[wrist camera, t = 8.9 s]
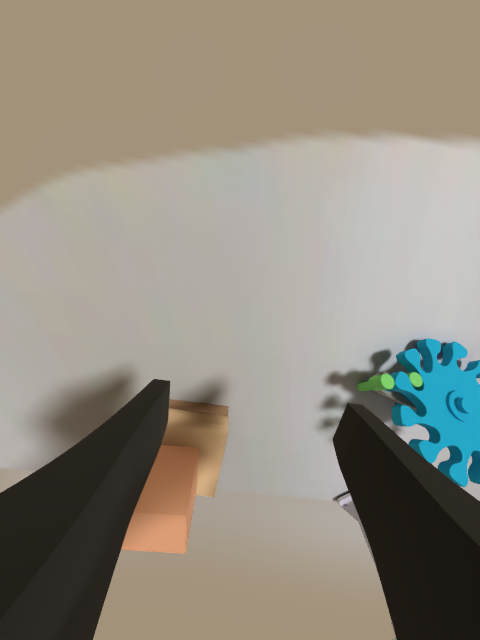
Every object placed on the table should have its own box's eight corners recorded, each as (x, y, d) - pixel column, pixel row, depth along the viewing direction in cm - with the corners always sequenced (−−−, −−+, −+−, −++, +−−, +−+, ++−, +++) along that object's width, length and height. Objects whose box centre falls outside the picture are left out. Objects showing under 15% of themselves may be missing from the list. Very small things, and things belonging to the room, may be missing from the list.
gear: (526, 367, 19) (543, 519, 15) (451, 378, 24) (449, 491, 20) (396, 309, 19) (378, 447, 15) (350, 333, 24) (327, 438, 20)
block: (198, 447, 20) (185, 515, 16) (197, 483, 22) (185, 553, 17) (144, 443, 20) (115, 511, 16) (147, 479, 22) (122, 549, 17)
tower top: (228, 416, 22) (227, 435, 20) (216, 476, 25) (214, 497, 23) (137, 403, 21) (127, 421, 19) (136, 466, 24) (127, 486, 22)
